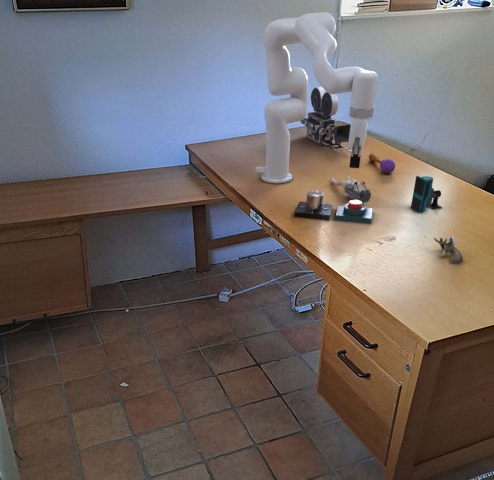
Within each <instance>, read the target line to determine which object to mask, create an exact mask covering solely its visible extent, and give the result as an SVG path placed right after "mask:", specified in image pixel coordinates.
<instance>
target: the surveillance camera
mask: <svg viewBox="0 0 494 480" xmlns="http://www.w3.org/2000/svg"><path fill="white" fill-rule="evenodd" d="M414 181H415V182H414V187H413V194H412V198H411V204H410V208H411V209H412V210H413V211H415V212H417V213H418V214H421V213H423V212H425V211H426V209H429V208H430V209H432V210H437V209H442V207H443V206H440V205H439V204H438V202H439V198H440V197H441V196H442V190H440V189H436V190H435V188H434V187H433V183H434V177H431V176H428V175H427V176H420V175H416V176H415V180H414Z"/></svg>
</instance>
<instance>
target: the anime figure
mask: <svg viewBox="0 0 494 480" xmlns="http://www.w3.org/2000/svg"><path fill="white" fill-rule="evenodd" d="M329 180H330V181H331V183H332V184H334V185H335V186H336V187H340V186H342V187H343V189H344V191H342V190H341V189H340V190H338V193H339V194H341V195H343V196H345V197H348V198H349V199H350V200H360V201H361V202H362V204H364V203H368V202H369V201H370V199H371V196H372V193H371V189H368V188H367V186H366V182H365V181H362V182H360V181H358V180H357V179H351V177H350V174H349V173H346V180H345V179H344V180H341V179H340V180H336V179H335V178H334V176H333V173H331V174H329Z"/></svg>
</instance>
